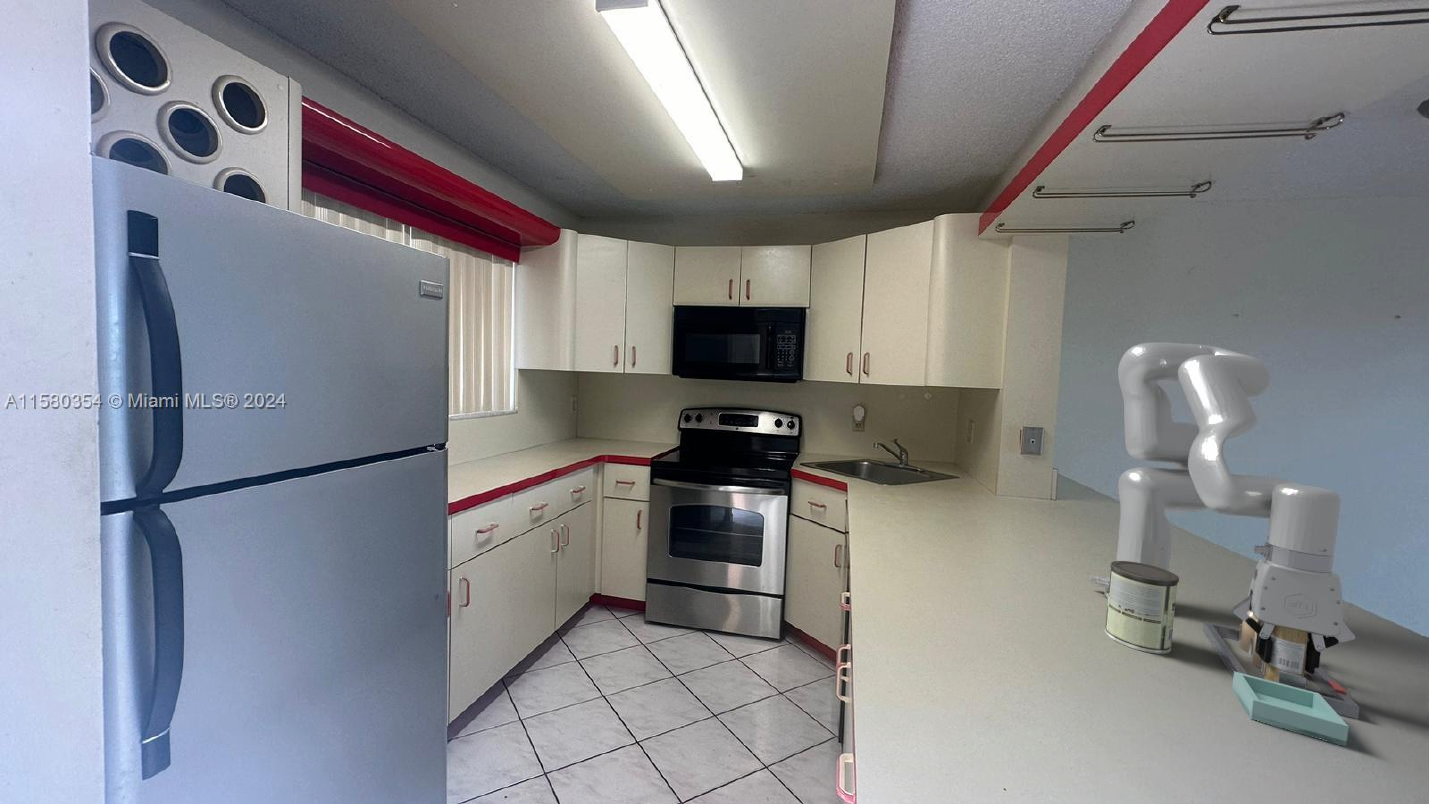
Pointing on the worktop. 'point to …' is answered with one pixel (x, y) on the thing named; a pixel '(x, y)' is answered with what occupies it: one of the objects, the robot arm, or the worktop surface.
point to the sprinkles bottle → (1287, 652)
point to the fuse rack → (1332, 689)
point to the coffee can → (1141, 606)
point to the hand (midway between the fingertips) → (1285, 663)
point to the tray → (1289, 708)
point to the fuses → (1245, 640)
